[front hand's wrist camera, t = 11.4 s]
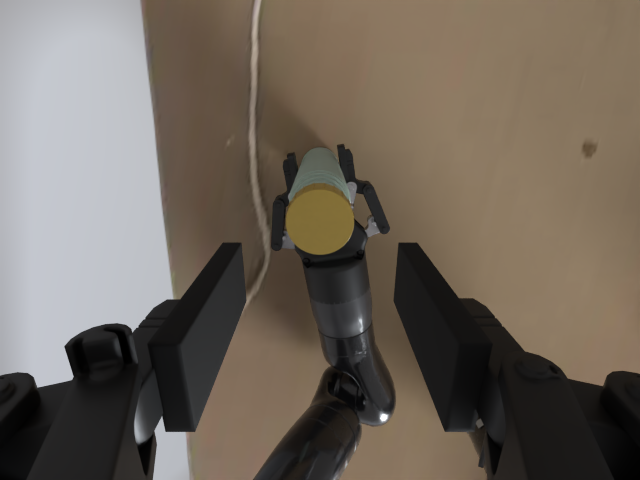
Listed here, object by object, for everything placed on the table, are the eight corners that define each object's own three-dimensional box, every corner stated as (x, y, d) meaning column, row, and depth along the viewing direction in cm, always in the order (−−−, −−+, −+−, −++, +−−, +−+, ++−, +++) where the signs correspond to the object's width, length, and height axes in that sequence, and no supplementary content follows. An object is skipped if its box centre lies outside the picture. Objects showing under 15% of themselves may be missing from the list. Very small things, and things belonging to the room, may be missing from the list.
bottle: (343, 177, 44) (367, 242, 22) (308, 189, 44) (298, 265, 22) (331, 141, 42) (343, 172, 20) (295, 154, 43) (270, 198, 21)
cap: (359, 232, 23) (363, 243, 21) (301, 251, 24) (299, 263, 22) (340, 172, 22) (342, 178, 20) (278, 194, 22) (274, 202, 20)
